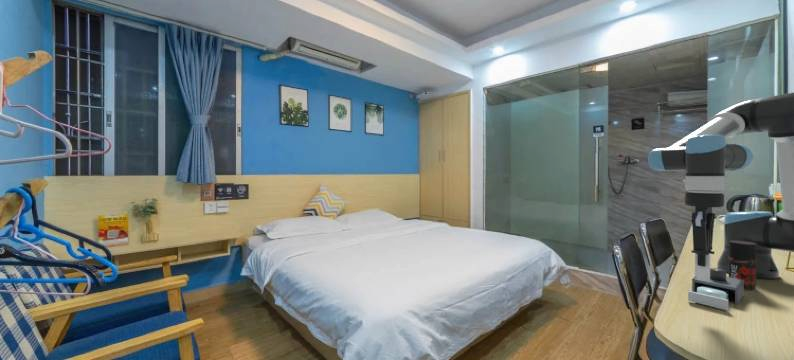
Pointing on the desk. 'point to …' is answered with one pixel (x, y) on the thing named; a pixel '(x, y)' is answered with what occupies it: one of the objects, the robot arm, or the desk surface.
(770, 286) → the desk surface
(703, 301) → the tray
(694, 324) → the desk surface
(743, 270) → the deodorant
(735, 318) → the desk surface
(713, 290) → the pale blue flat dome
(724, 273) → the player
